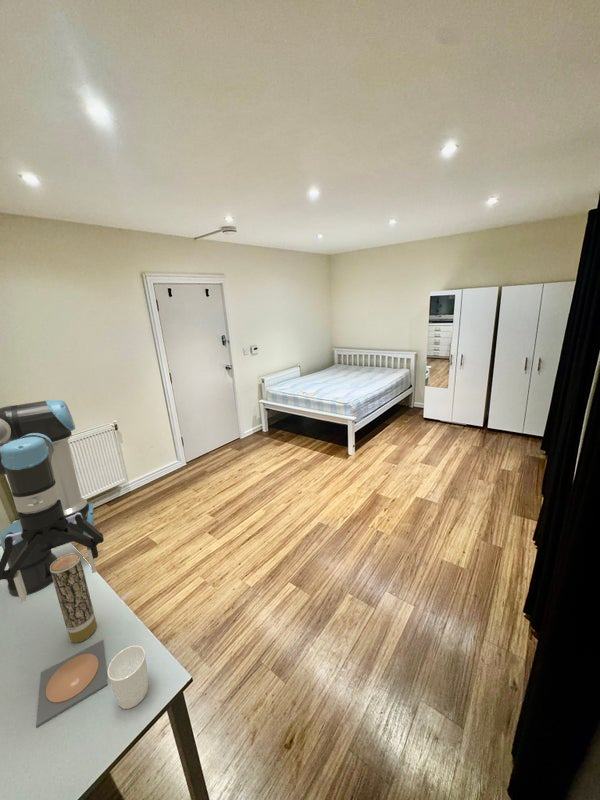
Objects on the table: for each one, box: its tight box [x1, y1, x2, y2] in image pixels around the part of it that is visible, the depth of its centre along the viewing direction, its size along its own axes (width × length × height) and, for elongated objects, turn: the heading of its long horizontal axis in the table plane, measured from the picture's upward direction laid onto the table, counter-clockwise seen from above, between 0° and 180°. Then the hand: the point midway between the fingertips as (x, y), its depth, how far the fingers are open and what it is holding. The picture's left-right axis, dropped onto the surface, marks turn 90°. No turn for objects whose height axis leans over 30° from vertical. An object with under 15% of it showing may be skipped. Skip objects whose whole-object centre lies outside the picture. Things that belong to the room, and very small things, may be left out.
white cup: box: [107, 645, 150, 710], centre depth 74 cm, size 8×8×10 cm
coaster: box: [35, 639, 109, 728], centre depth 79 cm, size 14×14×1 cm
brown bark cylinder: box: [50, 552, 98, 644], centre depth 88 cm, size 7×7×25 cm
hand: (60, 583), depth 74 cm, fingers open, 13 cm apart
